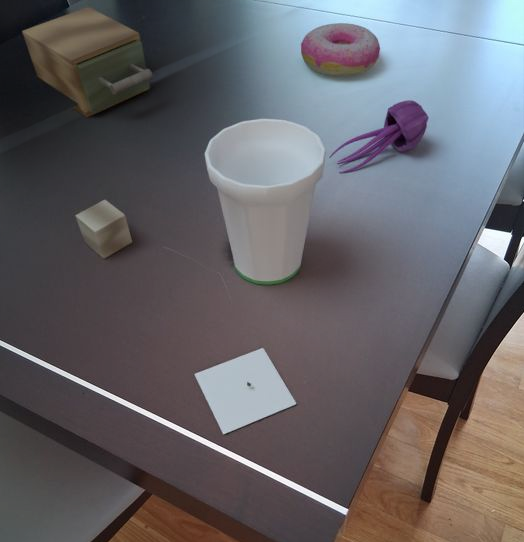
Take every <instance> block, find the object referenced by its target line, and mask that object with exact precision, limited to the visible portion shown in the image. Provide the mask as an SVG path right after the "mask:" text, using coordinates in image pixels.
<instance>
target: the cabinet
mask: <svg viewBox="0 0 524 542" xmlns="http://www.w3.org/2000/svg"><path fill="white" fill-rule="evenodd" d="M21 32H22V36H23V38H24V41H25V44H26V47H27V50H28V54H29V56H30V58H31V62H32V64H33V65H32V66H33V67H34V71H35V74H36V76H37V78H38V79H40V80H42V81H44V82H45V83H46V84H48V85H49V86H51V87H52V88H54V89H55V90H57V91H58V92H60V93H62V94H63V95H64V96H66V97H68V99H70V100H72V101H74V102H75V103H76V104H75V105H73V106H71V108H72V109H73V110H75V111H76V112H78V113H80V114H81V115H83V116H84V117H85V118H89V117H92V116H93V115H96V114H97V113H100V112H102V111H104V110H106V109H110V108H111V107H113V106H115V105H117V104H119V103H122V102H124V101H126V100H129V99H132V98H133V97H135V96H138V95H139V94H141V93H144V92H147V91H148V90H150V88H148V89H146V90H143V91H141V92H139V93H137V94H135V95H132V96H130V97H128V98H126V99H124V100H121V101H119V102H117V103H115V104H113V105H111V106H108V107H106V108H104V109H102V110H100V111H97V112H95V113H91V112H90V111H89V110H88V106H87V103H86V99H85V95H84V92H83V88H82V85H81V81H80V78H79V74H78V71H77V67H76V65H77V63H80V62H82V61H85V60H87V59H90V58H92V57H94V56H97V55H99V54H102V53H104V52H107V51H109V50H112V49H114V48H116V47H119V46H121V45H124V44H126V43H132V42H134V41H137V40H138V41H140V42H141V43H142V41H141V37H140V33H139V32H138V31H136V30H135V29H132V28H130V27H128V26H126V25H124V24H122V23H120V22H119V21H116V20H115V19H112V18H111V17H110V16H106V15H105V14H103V13H101V12H100V11H97V10H95V9H94V8H91V7H89V6H87V7H84V8H81V9H78V10H76V11H73V12H71V13H68V14H66V15H62V16H59V17H57V18H53V19H51V20H49V21H48V20H47V21H45V22H43V23H40V24H37V25H35V26H32V27H29V28H26V29H24V30H21Z"/></svg>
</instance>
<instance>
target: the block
mask: <svg viewBox="0 0 524 542" xmlns="http://www.w3.org/2000/svg"><path fill="white" fill-rule="evenodd" d="M74 216H75V219H76V221H77V224H78V227H79V230H80V232H81V236H82V238H83V241H84V244H86V245H87V246H88V247H89V248H90V249H92V250H93V251H94V252H95V253H96V254H98V255H99V256H100V257H101V258H102V259H104V260H105V259H106V258H108V257H110V256H111V255H113V254H115V253H117V252H118V251H120V250H122V249H123V248H125V247H127V246H130V244H132V243H133V239H132V236H131V232H130V228H129V225H128V221H127V217H126V215H125V214H124V213H123V212H122V211H121V210H119V209H118V208H117V207H116V206H115V205H113V204H112V203H110V202H109V201H108V200H106V199H103V200H101V201H99V202H98V203H96V204H93V205H92V206H90V207H88V208H87V209H85V210H83V211H80V212H79V213H77V214H75V215H74Z"/></svg>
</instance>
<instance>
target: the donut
mask: <svg viewBox="0 0 524 542" xmlns="http://www.w3.org/2000/svg"><path fill="white" fill-rule="evenodd" d="M380 53H381V45H380V42H379V39H378V37H377V36H376V35H375V33H373V32H372V31H371V30H369V29H368V28H367V27H365V26H362V25H359V24H355V23H348V22H346V23H344V22H338V23H329V24H324V25H321V26H318V27H316V28H313V29H312V30H311V31H309V32H307V33H306V34H305V35H304V37H303V39H302V41H301V43H300V55H301V57H302V59H303V61H304V63H305V64H306V65H307V66H308V67H309V68H311V69H312V70H313V71H315V72H317V73H319V74H322V75H325V76H332V77H350V76H351V77H352V76H356V75H361V74H362V73H365V72H367V71H368V70H371V69H372V68H373V67H374V66H375V64H376V63H377V61H378V60H379V57H380Z"/></svg>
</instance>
